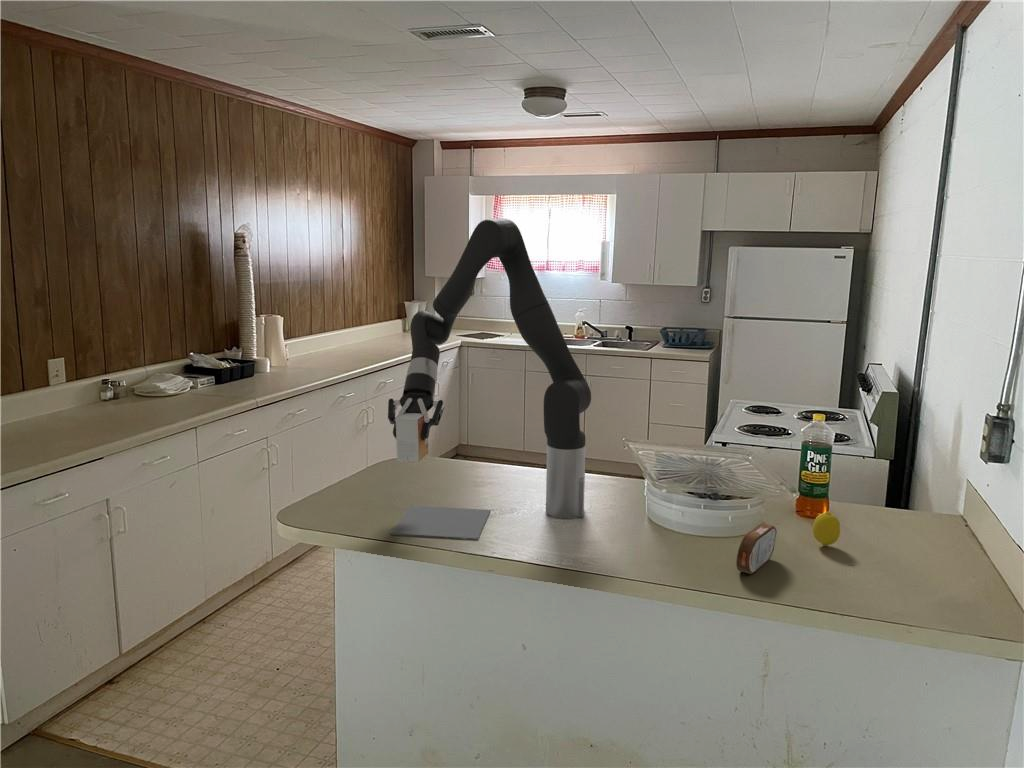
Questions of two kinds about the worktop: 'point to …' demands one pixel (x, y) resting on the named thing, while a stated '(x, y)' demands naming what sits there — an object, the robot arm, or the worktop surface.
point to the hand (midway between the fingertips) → (410, 438)
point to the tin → (756, 548)
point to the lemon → (826, 528)
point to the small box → (410, 437)
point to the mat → (442, 522)
